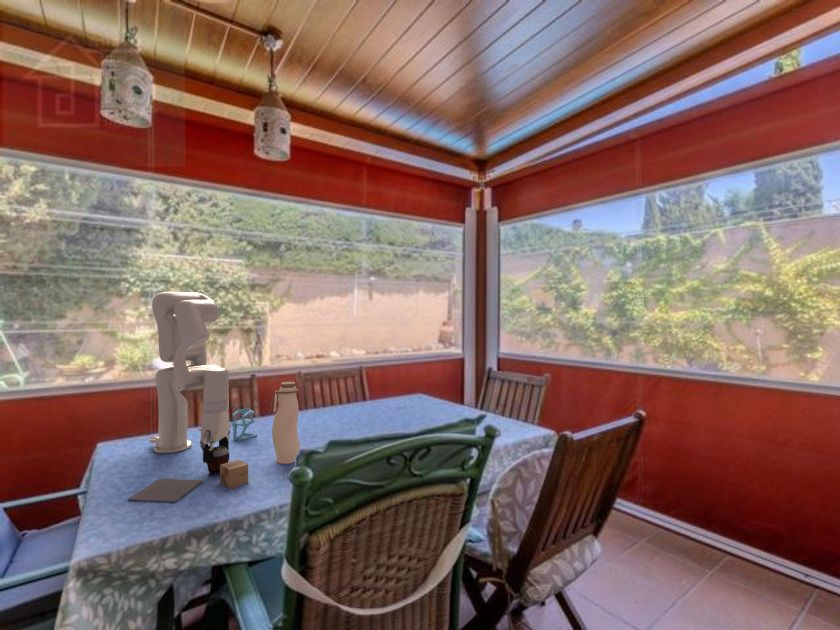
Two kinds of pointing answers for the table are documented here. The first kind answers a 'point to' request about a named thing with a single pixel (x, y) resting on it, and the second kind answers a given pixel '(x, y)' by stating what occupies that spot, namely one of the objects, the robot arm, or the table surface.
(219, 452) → the mate gourd
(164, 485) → the rubber mat
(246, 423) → the chair
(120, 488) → the table surface
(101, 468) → the table surface
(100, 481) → the table surface
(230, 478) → the brown cube
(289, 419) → the water bottle
